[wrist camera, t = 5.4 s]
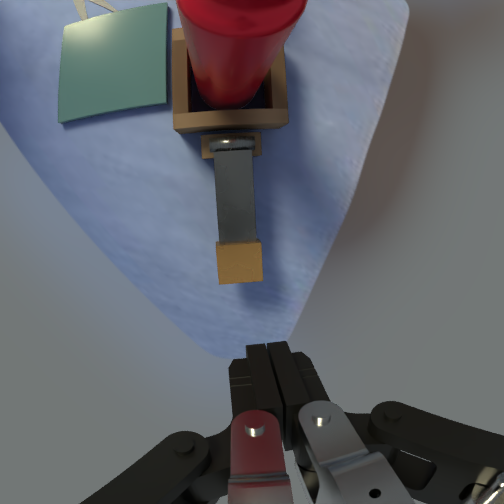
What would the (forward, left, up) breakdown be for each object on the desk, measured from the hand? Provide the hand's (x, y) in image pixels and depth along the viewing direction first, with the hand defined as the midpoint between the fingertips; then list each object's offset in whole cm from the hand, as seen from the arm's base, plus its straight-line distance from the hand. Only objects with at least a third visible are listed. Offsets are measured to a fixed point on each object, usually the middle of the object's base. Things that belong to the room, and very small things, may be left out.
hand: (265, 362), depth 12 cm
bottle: (0, +15, -19) cm, 24 cm away
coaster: (-11, +19, -19) cm, 29 cm away
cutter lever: (0, +4, -16) cm, 16 cm away
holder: (0, +14, -19) cm, 23 cm away
